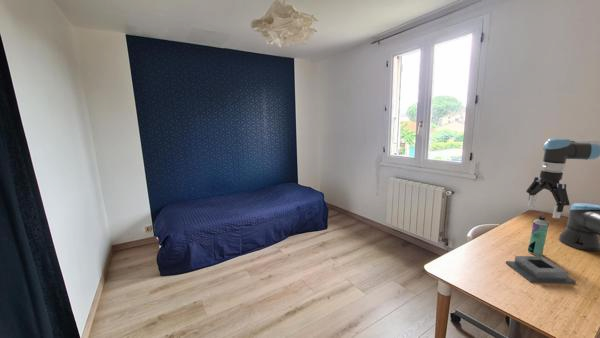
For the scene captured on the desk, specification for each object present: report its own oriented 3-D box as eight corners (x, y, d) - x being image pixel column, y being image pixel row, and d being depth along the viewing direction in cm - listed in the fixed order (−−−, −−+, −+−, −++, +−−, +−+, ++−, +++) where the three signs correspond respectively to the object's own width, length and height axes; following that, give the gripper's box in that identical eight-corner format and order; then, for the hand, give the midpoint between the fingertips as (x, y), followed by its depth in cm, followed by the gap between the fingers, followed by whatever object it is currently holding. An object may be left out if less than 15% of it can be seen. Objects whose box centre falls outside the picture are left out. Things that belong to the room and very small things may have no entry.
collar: (545, 263, 117) (547, 255, 116) (575, 283, 103) (578, 274, 102) (505, 262, 118) (507, 254, 117) (530, 282, 104) (532, 272, 103)
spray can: (539, 251, 127) (546, 215, 123) (544, 256, 123) (552, 219, 118) (525, 249, 130) (532, 214, 125) (530, 254, 125) (537, 218, 121)
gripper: (522, 165, 129) (515, 203, 134) (569, 177, 105) (559, 222, 110) (537, 165, 129) (529, 203, 133) (588, 177, 105) (577, 223, 109)
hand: (542, 212), depth 121 cm, fingers open, 13 cm apart
